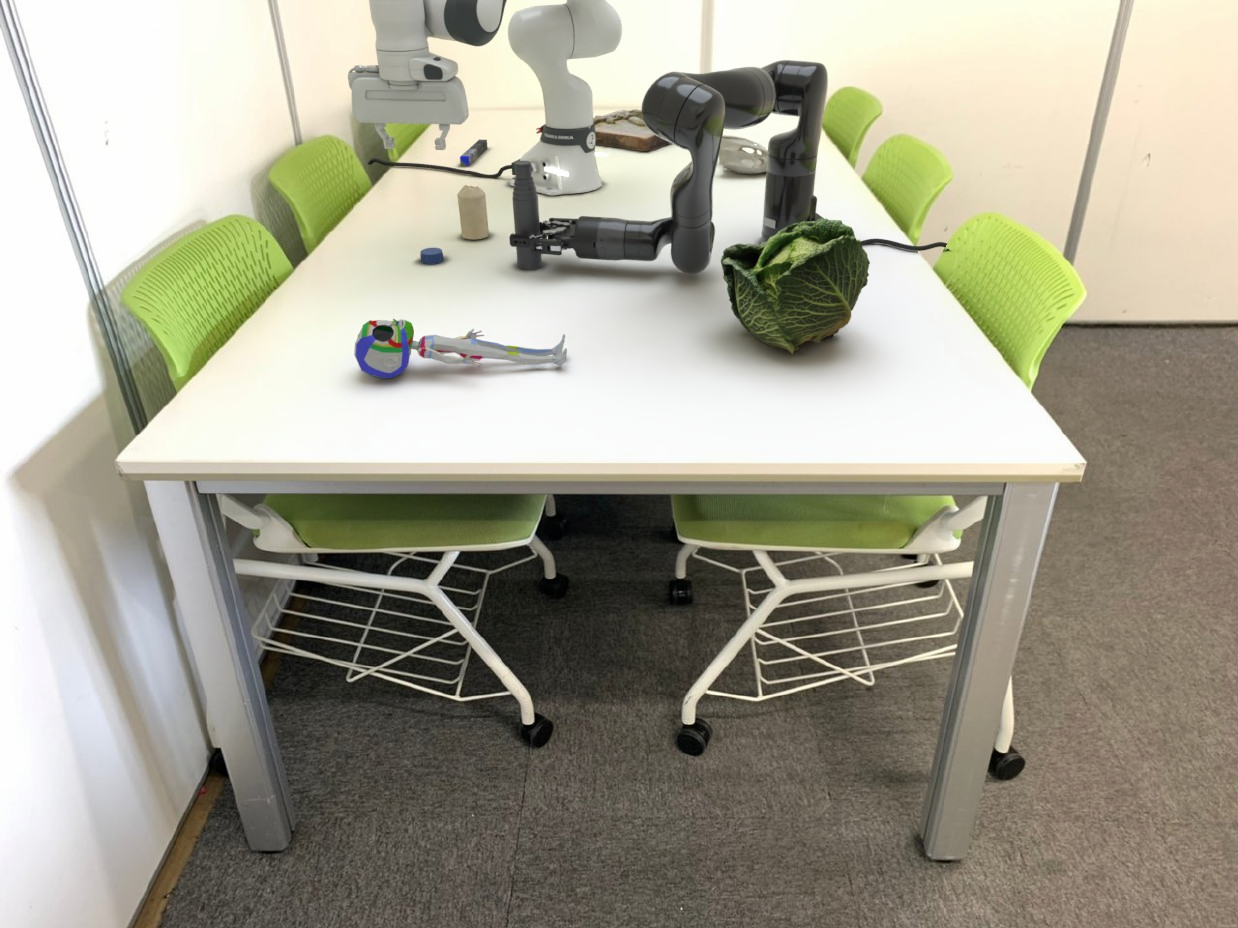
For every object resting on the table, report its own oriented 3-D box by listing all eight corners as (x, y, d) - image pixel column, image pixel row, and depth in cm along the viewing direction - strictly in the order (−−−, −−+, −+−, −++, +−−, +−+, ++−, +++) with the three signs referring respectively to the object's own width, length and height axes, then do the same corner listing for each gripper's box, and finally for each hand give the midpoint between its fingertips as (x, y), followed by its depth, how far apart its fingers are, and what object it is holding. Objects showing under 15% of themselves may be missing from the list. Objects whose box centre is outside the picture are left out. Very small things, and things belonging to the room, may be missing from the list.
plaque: (647, 125, 237) (559, 112, 252) (647, 153, 241) (560, 139, 256) (706, 107, 258) (622, 97, 273) (705, 133, 262) (622, 121, 277)
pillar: (486, 139, 247) (467, 157, 231) (487, 147, 249) (468, 166, 232) (479, 139, 248) (459, 157, 231) (479, 147, 249) (460, 166, 232)
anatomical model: (705, 127, 227) (805, 126, 223) (705, 164, 232) (803, 164, 228) (701, 141, 214) (807, 140, 211) (701, 180, 219) (804, 180, 216)
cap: (434, 265, 169) (432, 256, 168) (416, 262, 171) (415, 252, 170) (448, 259, 173) (446, 249, 172) (430, 255, 174) (429, 246, 173)
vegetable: (752, 365, 147) (694, 260, 139) (847, 299, 148) (795, 192, 140) (808, 391, 128) (745, 272, 121) (916, 316, 130) (860, 193, 122)
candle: (493, 232, 185) (489, 183, 180) (481, 241, 181) (476, 191, 175) (469, 230, 187) (464, 181, 181) (457, 238, 182) (451, 189, 177)
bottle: (512, 266, 169) (504, 163, 158) (530, 259, 171) (523, 158, 161) (529, 271, 166) (522, 167, 156) (547, 265, 169) (541, 162, 159)
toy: (569, 347, 126) (349, 329, 122) (563, 400, 131) (350, 385, 126) (565, 318, 135) (359, 301, 130) (559, 369, 139) (360, 354, 134)
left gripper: (339, 68, 152) (353, 152, 159) (457, 70, 150) (465, 154, 158) (352, 62, 157) (365, 143, 165) (466, 63, 155) (474, 145, 163)
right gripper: (612, 206, 166) (527, 202, 170) (593, 230, 155) (502, 225, 158) (613, 246, 170) (529, 241, 174) (594, 272, 159) (505, 266, 162)
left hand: (415, 149), depth 161 cm, fingers open, 8 cm apart
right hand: (516, 233), depth 166 cm, fingers open, 7 cm apart
